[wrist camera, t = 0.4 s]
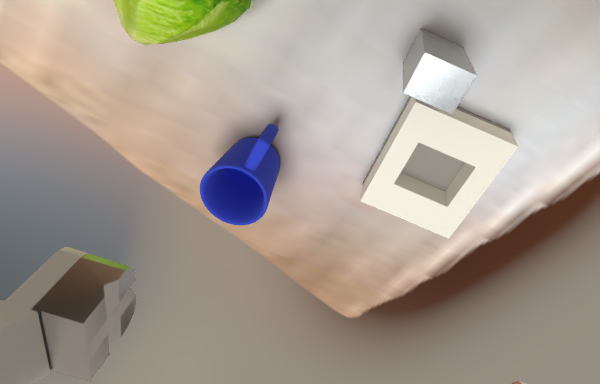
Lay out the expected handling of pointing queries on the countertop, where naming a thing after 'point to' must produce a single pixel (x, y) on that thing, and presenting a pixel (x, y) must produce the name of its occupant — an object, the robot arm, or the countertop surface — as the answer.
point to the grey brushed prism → (437, 71)
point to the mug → (242, 180)
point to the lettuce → (176, 18)
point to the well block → (436, 165)
